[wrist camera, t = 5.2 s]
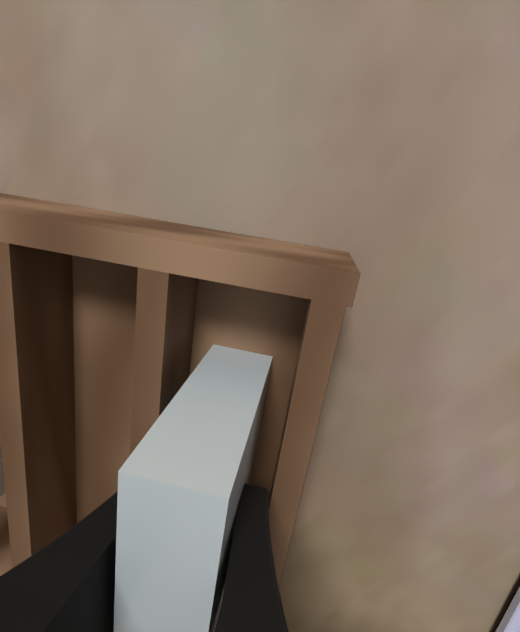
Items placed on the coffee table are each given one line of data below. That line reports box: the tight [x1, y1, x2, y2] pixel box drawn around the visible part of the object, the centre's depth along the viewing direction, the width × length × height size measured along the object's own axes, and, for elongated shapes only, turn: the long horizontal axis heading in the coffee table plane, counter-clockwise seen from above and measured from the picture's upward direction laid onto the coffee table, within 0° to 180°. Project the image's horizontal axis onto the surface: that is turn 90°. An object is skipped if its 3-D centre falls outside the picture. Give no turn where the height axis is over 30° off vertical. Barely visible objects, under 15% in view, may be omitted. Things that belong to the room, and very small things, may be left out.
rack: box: [0, 193, 360, 588], centre depth 13 cm, size 14×14×4 cm
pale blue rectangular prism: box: [114, 344, 273, 632], centre depth 10 cm, size 2×7×6 cm, turn 172°
